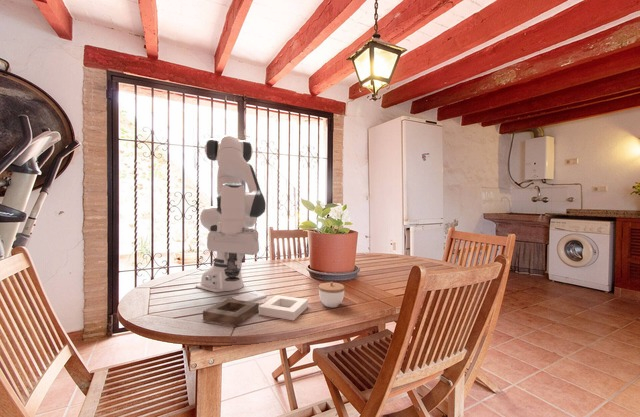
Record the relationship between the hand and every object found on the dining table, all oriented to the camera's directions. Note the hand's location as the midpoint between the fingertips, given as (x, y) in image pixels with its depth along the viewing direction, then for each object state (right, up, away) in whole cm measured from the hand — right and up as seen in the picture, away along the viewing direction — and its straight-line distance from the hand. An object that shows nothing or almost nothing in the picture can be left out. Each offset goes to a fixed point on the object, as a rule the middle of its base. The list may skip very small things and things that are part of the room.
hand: (232, 264), depth 106 cm
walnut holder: (0, -19, 0) cm, 19 cm away
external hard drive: (+1, -19, +19) cm, 27 cm away
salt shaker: (0, -6, 0) cm, 6 cm away
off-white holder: (+18, -19, +6) cm, 27 cm away
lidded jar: (+37, -19, +13) cm, 43 cm away
